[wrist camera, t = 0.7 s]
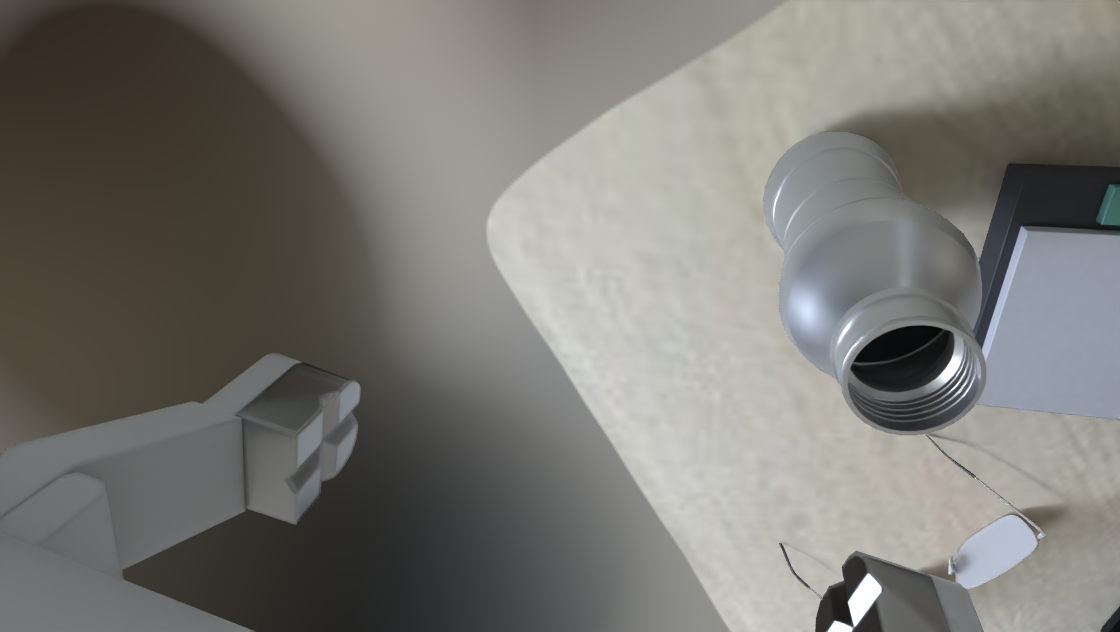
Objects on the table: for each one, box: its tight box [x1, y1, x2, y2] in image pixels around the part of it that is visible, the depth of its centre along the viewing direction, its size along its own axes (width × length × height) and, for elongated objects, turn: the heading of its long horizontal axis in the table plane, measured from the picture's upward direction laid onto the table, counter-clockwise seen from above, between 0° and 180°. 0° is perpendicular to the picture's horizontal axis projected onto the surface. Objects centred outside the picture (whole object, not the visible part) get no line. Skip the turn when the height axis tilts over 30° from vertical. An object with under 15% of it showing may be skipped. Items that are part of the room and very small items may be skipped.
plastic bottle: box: [763, 131, 987, 435], centre depth 26 cm, size 6×7×20 cm
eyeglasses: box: [779, 435, 1045, 600], centre depth 42 cm, size 14×8×4 cm, turn 148°
